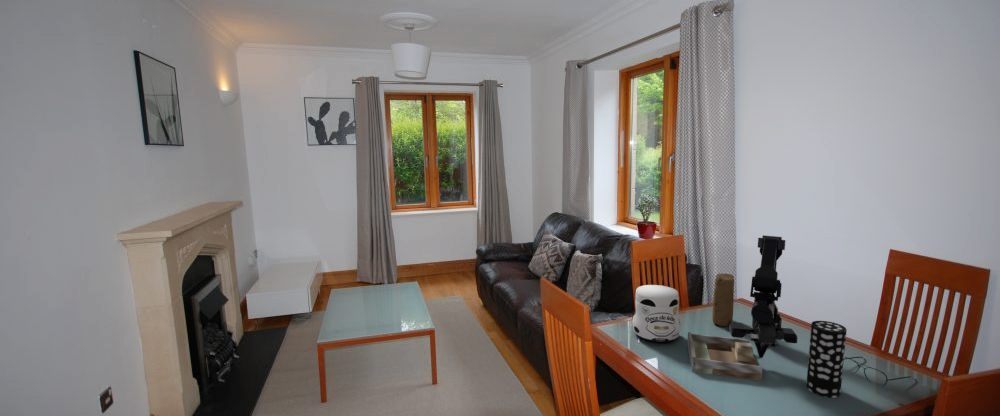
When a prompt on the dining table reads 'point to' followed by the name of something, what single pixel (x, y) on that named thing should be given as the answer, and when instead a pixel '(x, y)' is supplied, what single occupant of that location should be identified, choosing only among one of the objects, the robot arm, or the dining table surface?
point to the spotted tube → (826, 358)
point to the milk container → (656, 313)
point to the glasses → (875, 369)
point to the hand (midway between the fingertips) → (760, 357)
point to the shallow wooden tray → (720, 357)
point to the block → (723, 299)
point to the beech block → (743, 352)
